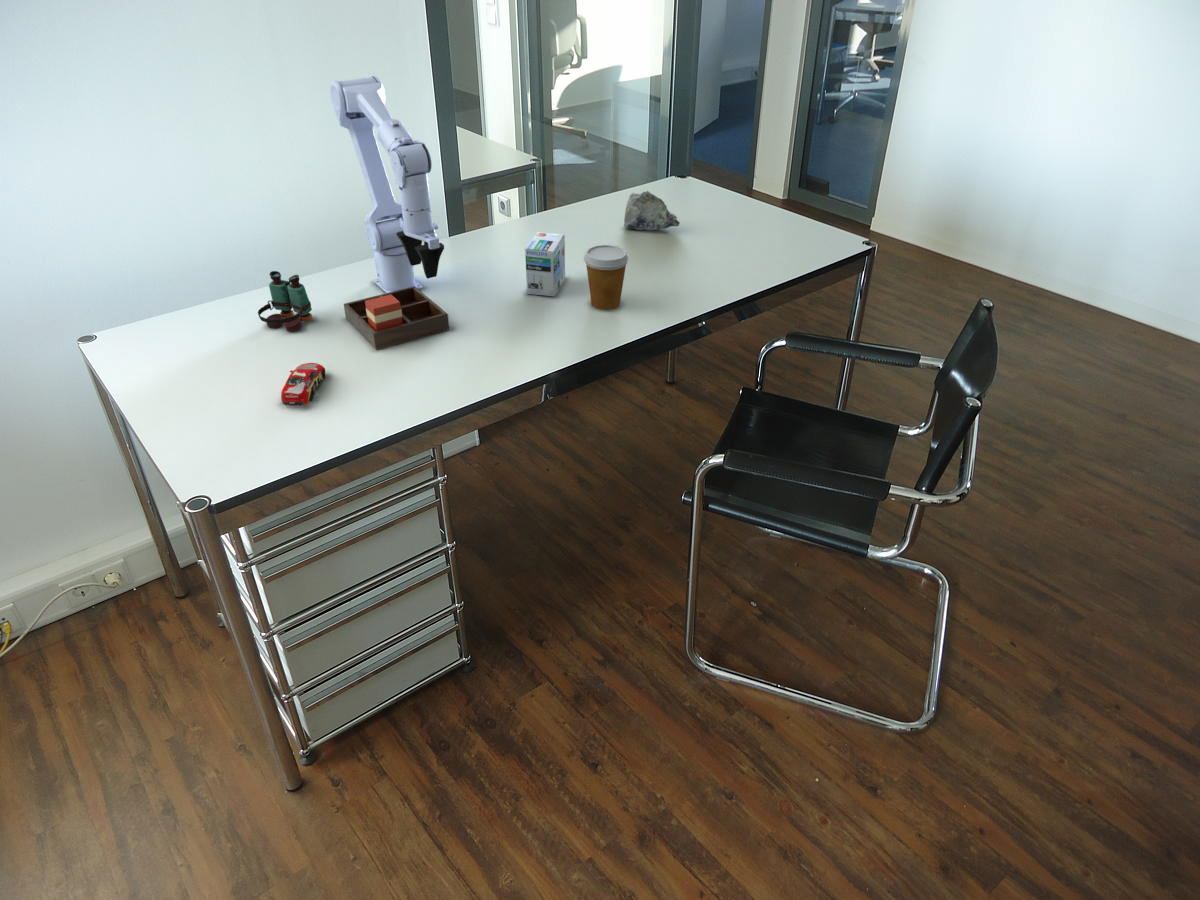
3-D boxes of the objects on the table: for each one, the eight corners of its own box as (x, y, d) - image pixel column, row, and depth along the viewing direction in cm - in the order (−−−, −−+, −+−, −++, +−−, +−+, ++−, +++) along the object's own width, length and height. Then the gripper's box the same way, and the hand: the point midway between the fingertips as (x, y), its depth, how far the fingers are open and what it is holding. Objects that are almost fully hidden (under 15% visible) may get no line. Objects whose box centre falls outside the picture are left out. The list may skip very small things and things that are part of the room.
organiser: (346, 319, 181) (343, 303, 179) (416, 301, 188) (414, 286, 186) (376, 350, 170) (373, 334, 168) (449, 329, 178) (447, 313, 175)
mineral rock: (681, 231, 224) (684, 193, 218) (652, 242, 218) (654, 203, 212) (646, 218, 231) (648, 181, 226) (617, 227, 225) (618, 190, 220)
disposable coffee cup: (633, 299, 190) (635, 248, 183) (616, 317, 183) (617, 264, 176) (595, 291, 193) (595, 240, 186) (576, 308, 186) (576, 256, 179)
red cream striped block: (369, 332, 175) (364, 300, 170) (395, 325, 177) (391, 293, 173) (378, 340, 172) (373, 309, 167) (404, 333, 174) (400, 302, 170)
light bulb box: (554, 297, 191) (554, 251, 184) (525, 294, 192) (523, 248, 185) (566, 278, 199) (565, 233, 193) (538, 275, 200) (536, 231, 194)
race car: (301, 371, 163) (297, 353, 161) (330, 372, 163) (326, 354, 161) (277, 408, 152) (272, 389, 150) (307, 409, 152) (303, 390, 150)
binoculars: (242, 289, 170) (272, 265, 177) (257, 334, 176) (286, 309, 184) (280, 296, 167) (309, 271, 174) (294, 341, 174) (322, 316, 181)
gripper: (450, 213, 168) (456, 278, 176) (419, 193, 178) (426, 254, 185) (417, 220, 165) (425, 286, 173) (387, 199, 174) (395, 262, 182)
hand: (423, 270), depth 179 cm, fingers open, 7 cm apart
